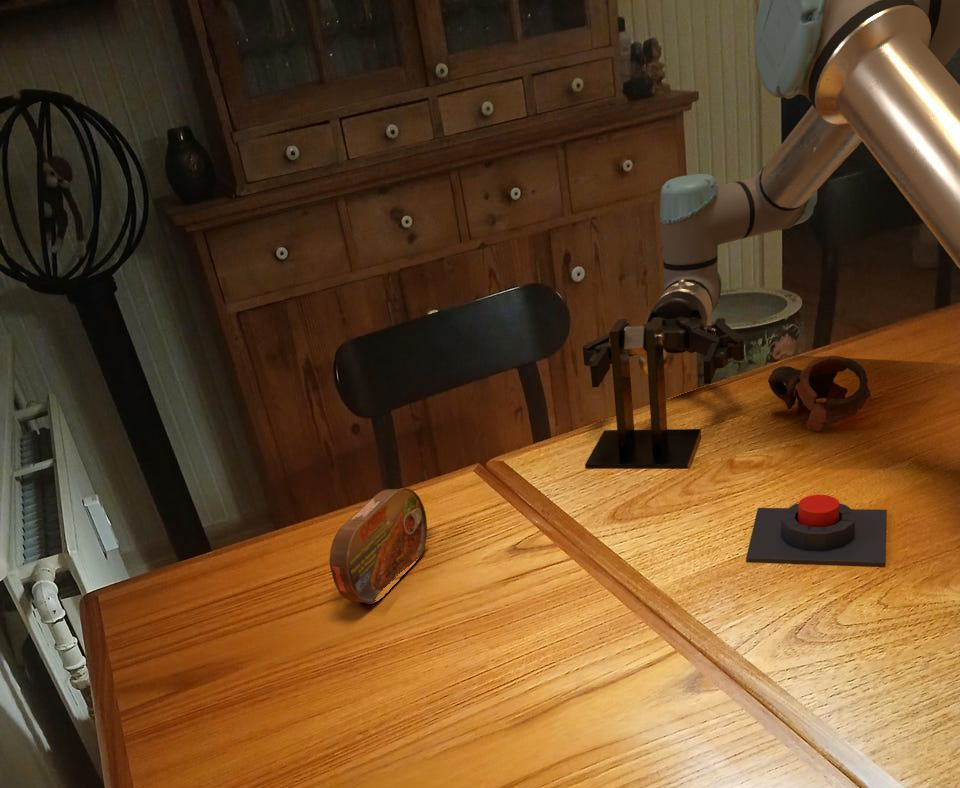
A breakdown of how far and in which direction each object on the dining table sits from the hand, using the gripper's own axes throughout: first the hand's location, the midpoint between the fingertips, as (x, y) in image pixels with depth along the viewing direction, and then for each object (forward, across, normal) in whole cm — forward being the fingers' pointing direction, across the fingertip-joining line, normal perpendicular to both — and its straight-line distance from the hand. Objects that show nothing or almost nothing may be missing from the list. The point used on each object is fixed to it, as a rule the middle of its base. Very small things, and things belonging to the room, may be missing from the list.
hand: (649, 374), depth 118 cm
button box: (+27, +21, +8) cm, 36 cm away
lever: (+2, 0, -2) cm, 3 cm away
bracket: (+5, 0, +8) cm, 10 cm away
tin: (+35, -21, +8) cm, 42 cm away
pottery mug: (-6, +19, +8) cm, 21 cm away
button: (+27, +21, +4) cm, 35 cm away
